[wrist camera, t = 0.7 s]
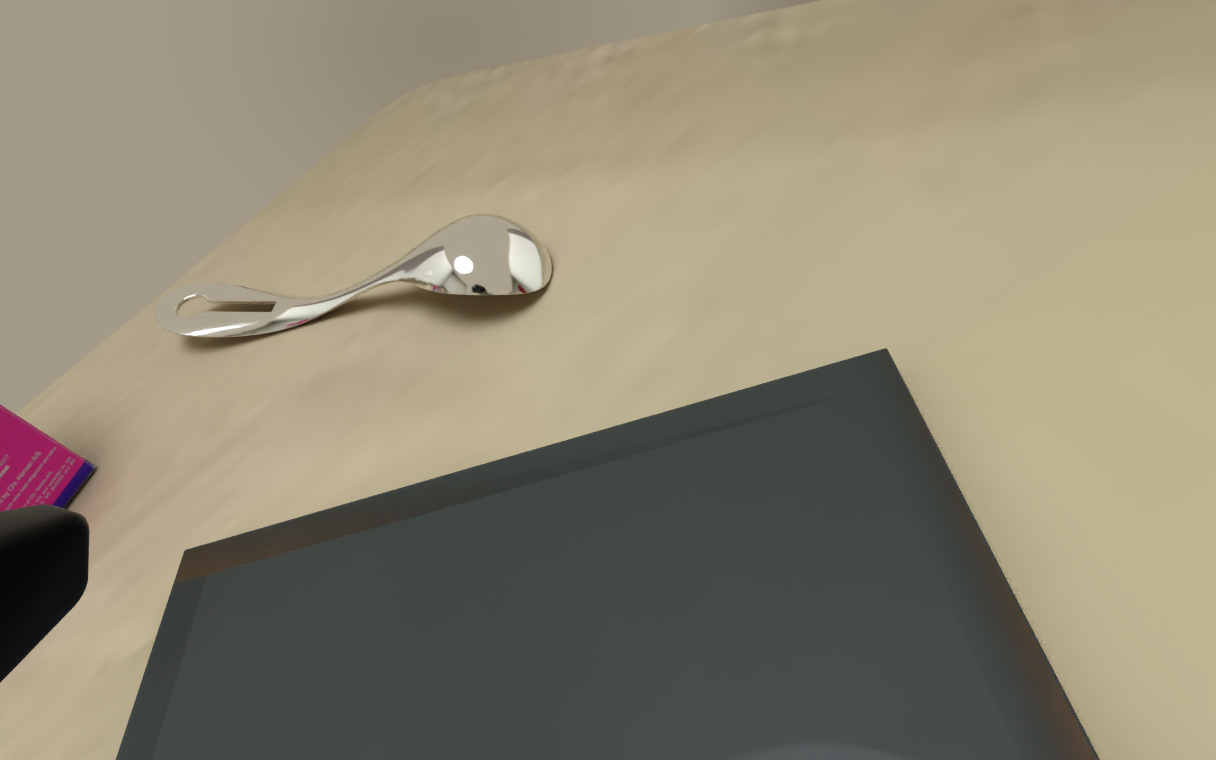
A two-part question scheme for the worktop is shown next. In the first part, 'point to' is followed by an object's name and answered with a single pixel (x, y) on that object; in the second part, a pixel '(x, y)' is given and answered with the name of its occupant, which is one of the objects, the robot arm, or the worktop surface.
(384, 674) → the chalkboard
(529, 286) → the metal serving spoon
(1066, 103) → the worktop surface
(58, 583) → the robot arm
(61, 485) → the supplement box
